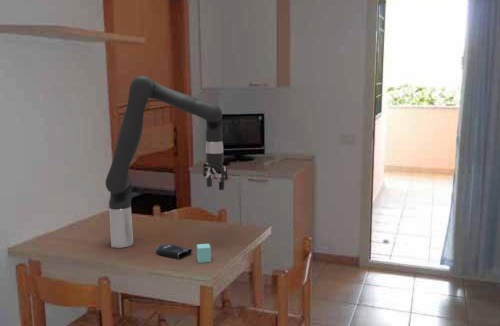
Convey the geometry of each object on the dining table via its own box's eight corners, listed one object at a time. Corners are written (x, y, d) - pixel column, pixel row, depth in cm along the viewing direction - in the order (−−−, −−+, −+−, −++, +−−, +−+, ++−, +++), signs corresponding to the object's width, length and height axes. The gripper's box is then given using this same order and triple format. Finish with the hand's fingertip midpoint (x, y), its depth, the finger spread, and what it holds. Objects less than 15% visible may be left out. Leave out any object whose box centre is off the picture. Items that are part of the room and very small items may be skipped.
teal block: (198, 263, 197) (198, 248, 196) (197, 258, 202) (196, 244, 201) (211, 261, 198) (210, 247, 197) (209, 257, 203) (209, 243, 202)
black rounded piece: (193, 256, 209) (166, 246, 216) (193, 245, 207) (166, 234, 214) (178, 266, 201) (151, 255, 209) (178, 254, 199) (151, 243, 207)
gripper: (197, 150, 217) (198, 187, 220) (217, 154, 206) (218, 192, 209) (211, 149, 222) (212, 184, 224) (231, 152, 211) (232, 189, 214)
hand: (215, 188), depth 217 cm, fingers open, 8 cm apart
